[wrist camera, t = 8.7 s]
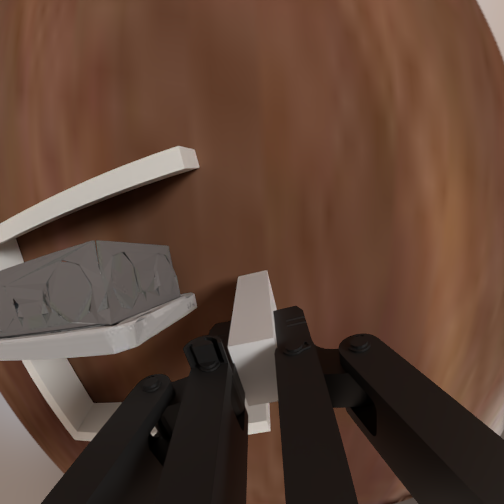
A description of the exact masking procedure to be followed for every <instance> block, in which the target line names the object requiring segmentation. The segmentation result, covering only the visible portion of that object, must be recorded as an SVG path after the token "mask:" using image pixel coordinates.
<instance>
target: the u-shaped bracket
mask: <svg viewBox="0 0 504 504" xmlns="http://www.w3.org/2000/svg"><path fill="white" fill-rule="evenodd" d="M197 168H199V164H198V160H197V157H196V153H195V150H194V149H190V148H186V147H181V146H177V147H174V148H171V149H168V150H165V151H162V152H159V153H156V154H153V155H151V156H148V157H145V158H142V159H140V160H137V161H134V162H132V163H129V164H126V165H124V166H121V167H119V168H116V169H114V170H111V171H109V172H106V173H104V174H101V175H99V176H97V177H94V178H92V179H90V180H87V181H85V182H83V183H81V184H78V185H76V186H74V187H72V188H69V189H67V190H65V191H63V192H61V193H59V194H57V195H54V196H52V197H50V198H48V199H46V200H44V201H42V202H40V203H38V204H36V205H34V206H32V207H30V208H28V209H26V210H25V211H23V212H21V213H19V214H17V215H15V216H13V217H11V218H10V219H8V220H6V221H4V222H2V223H1V224H0V271H1V270H4V269H7V268H9V267H12V266H15V265H18V264H21V263H24V261H23V258H22V255H21V252H20V249H19V246H18V243H17V240H16V238H17V237H19V236H21V235H24V234H26V233H28V232H30V231H32V230H34V229H37V228H39V227H41V226H43V225H45V224H48V223H50V222H52V221H55V220H57V219H59V218H62V217H64V216H66V215H69V214H71V213H73V212H76V211H78V210H81V209H83V208H86V207H88V206H91V205H93V204H96V203H98V202H101V201H103V200H106V199H109V198H111V197H114V196H117V195H119V194H122V193H125V192H128V191H130V190H133V189H136V188H139V187H142V186H145V185H147V184H150V183H153V182H156V181H159V180H162V179H165V178H168V177H171V176H174V175H178V174H181V173H184V172H187V171H190V170H194V169H197ZM22 362H23V364H24V365H25V367H26V369H27V371H28V372H29V374H30V376H31V377H32V379H33V381H34V382H35V384H36V386H37V387H38V389H39V390H40V392H41V393H42V395H43V397H44V398H45V400H46V401H47V403H48V404H49V405H50V407H51V408H52V410H53V411H54V413H55V414H56V416H57V417H58V418H59V420H60V421H61V422H62V424H63V425H64V427H65V428H66V429H67V430H68V432H69V433H70V434H71V436H72V437H73V438H74V439H75V440H82V441H91V440H92V439H93V438H94V437H95V436H96V434H97V433H98V432H99V431H100V429H101V428H102V427H103V426H104V424H105V423H106V422H107V421H108V419H109V418H110V417H111V416H112V414H113V413H114V412H115V411H116V410H117V408H118V407H119V406H120V405H121V403H122V402H114V403H93V401H92V400H91V398H90V397H89V395H88V393H87V392H86V390H85V389H84V387H83V385H82V384H81V382H80V380H79V379H78V377H77V375H76V373H75V372H74V370H73V368H72V366H71V365H70V363H69V361H68V359H67V358H58V359H39V360H22ZM245 407H246V410H247V413H248V434H255V433H261V432H267V431H271V430H270V409H269V403H265V404H259V405H253V406H248V403H247V400H246V398H245ZM156 433H157V429H156V428H155V427H154V428H153V430H152V431H151V434H152V436H154V435H155V434H156Z"/></svg>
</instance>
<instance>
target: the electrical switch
mask: <svg viewBox="0 0 504 504" xmlns="http://www.w3.org/2000/svg"><path fill="white" fill-rule="evenodd" d="M96 244H97V252H98V257H97V252H96V246H95V241H90V242H86V243H83V244H80V245H76V246H73V247H70V248H67V249H64V250H61V251H57V252H54V253H51V254H48V255H45V256H42V257H39V258H36V259H33V260H30V261H27V262H24V263H21V264H18V265H15V266H12V267H9V268H7V269H4V270H1V271H0V361H8V360H39V359H58V358H73V357H86V356H97V355H108V354H116V353H119V352H122V351H125V350H129V349H132V348H135V347H137V346H139V345H141V344H142V343H144V342H145V341H147V340H148V339H150V338H151V337H153V336H155V335H156V334H158V333H159V332H161V331H162V330H164V329H165V328H167V327H169V326H170V325H172V324H173V323H175V322H176V321H178V320H179V319H181V318H182V317H184V316H186V315H187V314H189V313H190V312H192V311H193V310H194V309H196V308H197V304H196V299H195V294H193V293H192V292H190V293H185V294H180V290H179V285H178V280H177V276H176V274H175V271H174V269H173V266H172V261H171V256H170V251H169V246H164V245H151V244H138V243H125V242H112V241H99V240H96ZM98 259H99V263H98ZM62 260H64V261H67V262H61V261H62Z"/></svg>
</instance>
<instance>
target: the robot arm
mask: <svg viewBox="0 0 504 504" xmlns="http://www.w3.org/2000/svg"><path fill="white" fill-rule="evenodd" d="M183 350H184V353H185V355H186V357H187V360H188V362H189V365H190V367H191V371H190V374H189V376H188V377H186V378H183V379H180V380H177V381H174V382H171V381H170V379H169V377H167V376H166V375H163V374H155V375H151V376H148V377H146V378H144V379H143V380H141V381H140V382H139V383H138V384H137V385H136V386H135V387H134V389H133V390H132V391H131V392H130V394H129V395H128V396H127V397H126V398H125V400H124V401H123V402H122V403H121V405H120V406H119V407H118V408H117V410H116V411H115V412H114V413H113V414H112V416H111V417H110V418H109V419H108V421H107V422H106V423H105V424H104V426H103V427H102V428H101V429H100V431H99V432H98V433H97V434H96V436H95V437H94V438H93V439H92V440H91V442H90V443H89V444H88V445H87V447H86V448H85V449H84V450H83V452H82V453H81V454H80V455H79V457H78V458H77V459H76V460H75V462H74V463H73V464H72V465H71V467H70V468H69V469H68V470H67V472H66V473H65V474H64V475H63V477H62V478H61V479H60V480H59V482H58V483H57V484H56V485H55V487H54V488H53V489H52V490H51V492H50V493H49V494H48V495H47V497H46V498H45V499H44V500H43V502H42V503H41V504H246V487H247V450H248V413H247V410H246V407H245V398H246V400H247V403H248V406H253V405H259V404H265V403H270V402H276V401H278V403H279V416H280V429H281V442H282V455H283V469H284V483H285V498H286V504H358V501H357V497H356V493H355V489H354V485H353V481H352V477H351V473H350V469H349V466H348V462H347V458H346V454H345V450H344V447H343V443H342V439H341V436H340V432H339V428H338V425H337V421H336V417H335V414H334V410H333V408H340V407H345V408H346V411H347V412H348V414H349V415H350V416H351V418H352V419H353V420H354V422H355V423H356V424H357V426H358V427H359V428H360V429H361V431H362V432H363V433H364V435H365V436H366V437H367V439H368V440H369V441H370V442H371V444H372V445H373V446H374V448H375V449H376V450H377V451H378V453H379V454H380V455H381V457H382V458H383V459H384V460H385V462H386V463H387V464H388V466H389V467H390V468H391V469H392V471H393V472H394V473H395V475H396V476H397V477H398V478H399V480H400V481H401V482H402V483H403V485H404V486H405V487H406V489H407V490H408V491H409V492H410V494H411V495H412V496H413V497H414V499H415V500H416V501H417V502H418V504H504V440H503V439H502V438H501V437H500V436H499V435H497V434H496V433H495V432H494V431H493V430H491V429H490V428H489V427H488V426H486V425H485V424H484V423H483V422H482V421H480V420H479V419H478V418H477V417H475V416H474V415H473V414H472V413H471V412H469V411H468V410H467V409H466V408H464V407H463V406H462V405H461V404H459V403H458V402H457V401H456V400H455V399H453V398H452V397H451V396H450V395H448V394H447V393H446V392H445V391H443V390H442V389H441V388H440V387H438V386H437V385H436V384H435V383H433V382H432V381H431V380H430V379H429V378H427V377H426V376H425V375H424V374H422V373H421V372H420V371H419V370H417V369H416V368H415V367H414V366H412V365H411V364H410V363H409V362H407V361H406V360H405V359H404V358H402V357H401V356H400V355H399V354H397V353H396V352H395V351H394V350H392V349H391V348H390V347H389V346H387V345H386V344H385V343H384V342H382V341H381V340H380V339H379V338H377V337H375V336H373V335H370V334H356V335H353V336H349V337H348V338H346V339H344V340H343V341H342V342H341V343H340V344H339V349H324V348H320V347H317V346H316V345H315V344H314V343H313V342H312V339H311V336H310V333H309V329H308V326H307V323H306V320H305V316H304V313H303V310H302V309H300V308H299V307H297V306H293V307H289V308H284V309H280V310H277V309H276V305H275V301H274V297H273V293H272V289H271V285H270V280H269V276H268V272H267V270H265V271H261V272H257V273H252V274H248V275H243V276H239V277H238V281H237V287H236V294H235V300H234V307H233V314H232V320H231V321H228V322H223V323H218V324H215V325H214V327H213V328H212V329H211V330H210V332H209V335H205V336H201V337H198V338H195V339H193V340H191V341H190V342H189V343H187V344H186V345H185V347H184V348H183ZM154 427H155V428H156V429H157V433H156V434H155V435H154V436H152V434H151V431H152V430H153V428H154Z"/></svg>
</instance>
